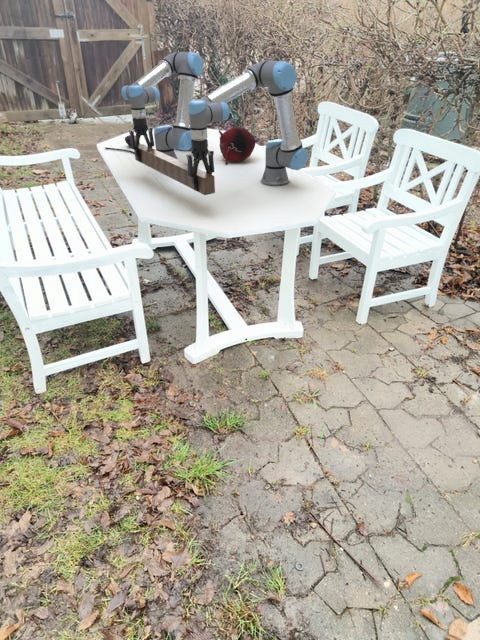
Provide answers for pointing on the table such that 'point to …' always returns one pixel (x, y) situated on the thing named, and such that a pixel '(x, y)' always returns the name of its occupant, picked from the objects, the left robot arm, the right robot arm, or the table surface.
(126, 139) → the rock
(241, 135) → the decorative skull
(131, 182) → the table surface
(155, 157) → the bar
